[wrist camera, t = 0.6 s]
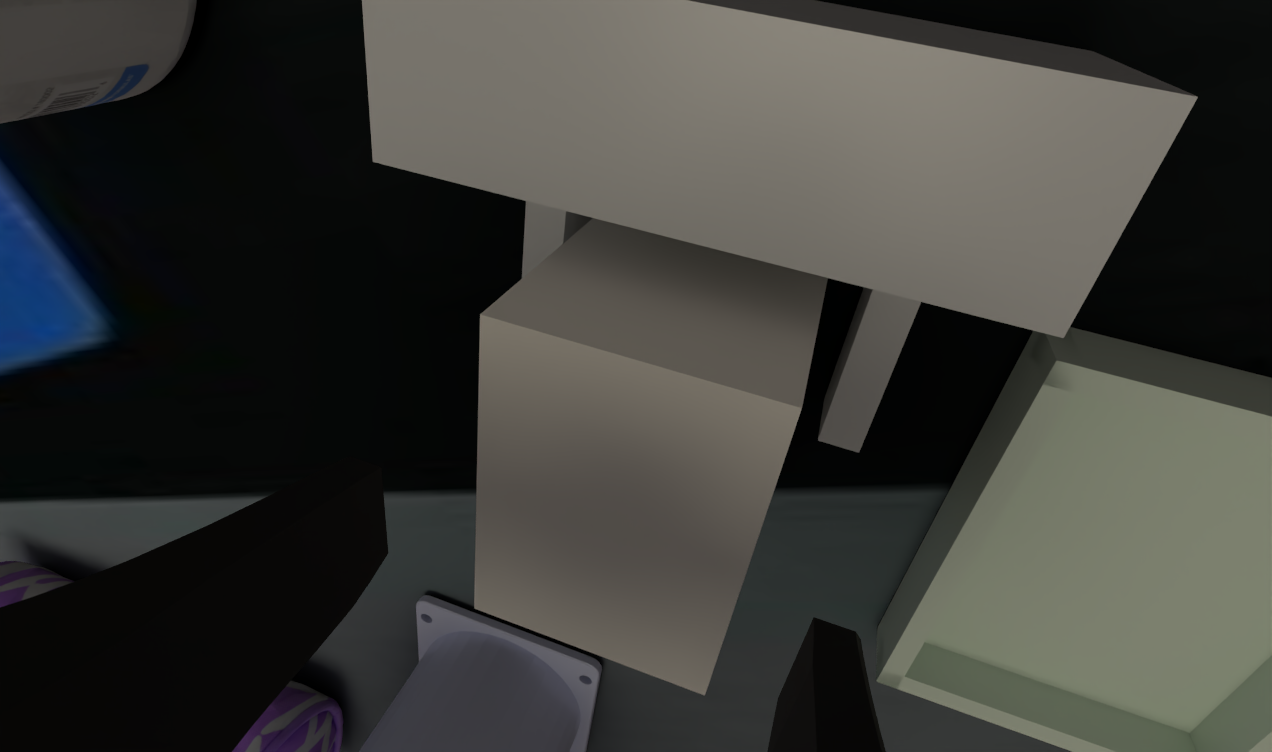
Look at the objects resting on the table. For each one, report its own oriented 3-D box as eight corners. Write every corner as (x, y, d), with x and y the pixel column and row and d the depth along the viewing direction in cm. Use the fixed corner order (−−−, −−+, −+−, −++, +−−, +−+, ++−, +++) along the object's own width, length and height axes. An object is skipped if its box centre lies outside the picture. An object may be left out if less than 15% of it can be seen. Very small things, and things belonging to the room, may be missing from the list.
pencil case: (60, 628, 43) (-125, 775, 35) (1, 518, 38) (-230, 662, 30) (372, 757, 38) (239, 960, 30) (353, 653, 33) (188, 863, 25)
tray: (1194, 736, 20) (1221, 804, 19) (877, 627, 22) (875, 681, 20) (1512, 438, 14) (1593, 500, 12) (1039, 319, 16) (1056, 359, 14)
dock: (919, 425, 18) (929, 579, 13) (500, 305, 20) (389, 403, 16) (1092, 50, 13) (1197, 96, 9) (515, -55, 15) (357, -62, 11)
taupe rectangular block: (760, 471, 20) (699, 712, 14) (602, 422, 21) (473, 626, 15) (837, 229, 16) (801, 408, 10) (636, 180, 17) (480, 314, 11)
